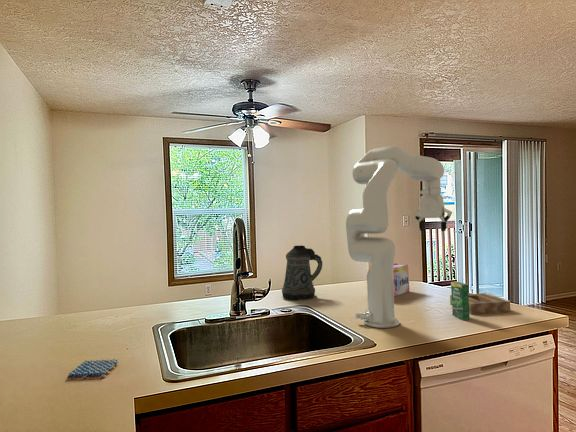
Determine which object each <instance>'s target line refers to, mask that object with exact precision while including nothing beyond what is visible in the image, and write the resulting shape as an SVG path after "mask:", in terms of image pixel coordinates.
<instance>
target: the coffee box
mask: <svg viewBox="0 0 576 432" xmlns="http://www.w3.org/2000/svg"><path fill="white" fill-rule="evenodd" d="M450 289H451V295H452V305H451V306H452V311H451V312H452V316H454V317H457V318H458V319H460V320H462V321H469V320H470V314H469V294H470V293H469V284H468V283H463V282H460V281H451V282H450Z"/></svg>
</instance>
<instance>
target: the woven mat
mask: <svg viewBox="0 0 576 432" xmlns="http://www.w3.org/2000/svg"><path fill="white" fill-rule="evenodd" d="M118 365H119V360H118V359H107V360H104V359H102V360H98V359H97V360H93V359H92V360H84V361H83V362H82V363H80V365H78V366H77V367H76V368H74V370H72V371H71V372H69V373H68V375H67V377H66V380H68V381H71V380H72V381H73V380H91V379H92V380H93V379H95V380H96V379H105V378H106V377H107V376H108V375H110V374H111V372H113V371H114V369H116V367H117V366H118Z"/></svg>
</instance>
